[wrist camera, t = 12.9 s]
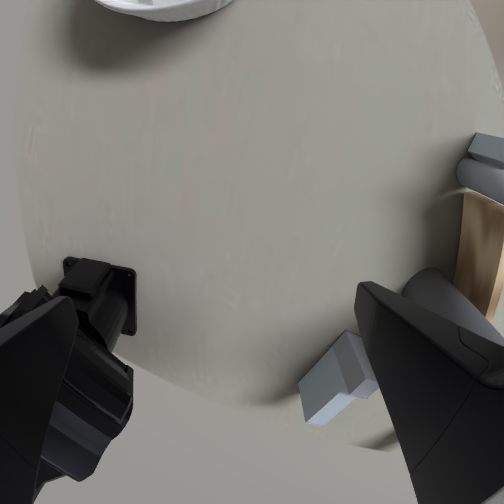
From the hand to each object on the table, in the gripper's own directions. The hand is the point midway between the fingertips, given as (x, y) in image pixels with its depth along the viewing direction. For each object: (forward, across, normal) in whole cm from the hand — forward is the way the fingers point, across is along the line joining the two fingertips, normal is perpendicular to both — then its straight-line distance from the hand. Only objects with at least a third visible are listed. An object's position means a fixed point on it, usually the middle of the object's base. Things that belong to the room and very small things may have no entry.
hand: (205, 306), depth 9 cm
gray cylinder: (+13, -17, +9) cm, 23 cm away
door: (+12, -21, +7) cm, 25 cm away
